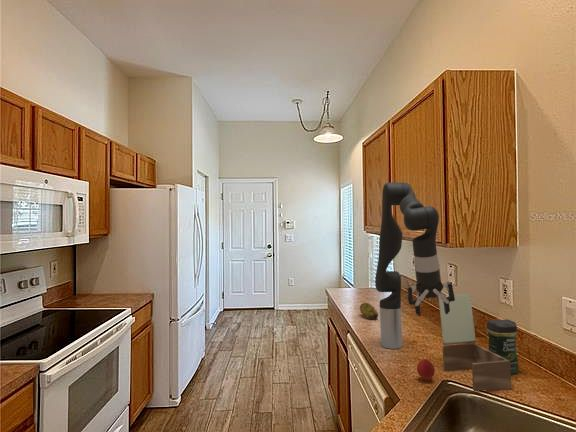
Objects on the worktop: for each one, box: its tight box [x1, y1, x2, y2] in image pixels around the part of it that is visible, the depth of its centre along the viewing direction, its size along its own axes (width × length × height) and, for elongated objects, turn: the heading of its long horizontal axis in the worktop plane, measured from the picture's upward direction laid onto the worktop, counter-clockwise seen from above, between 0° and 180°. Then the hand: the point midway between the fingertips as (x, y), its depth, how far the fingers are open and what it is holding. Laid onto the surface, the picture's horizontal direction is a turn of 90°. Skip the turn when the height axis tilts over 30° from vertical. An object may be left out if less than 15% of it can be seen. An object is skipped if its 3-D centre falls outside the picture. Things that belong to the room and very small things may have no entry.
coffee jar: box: [486, 318, 520, 375], centre depth 132 cm, size 10×8×19 cm
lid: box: [437, 293, 477, 346], centre depth 136 cm, size 18×13×1 cm
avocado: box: [359, 302, 379, 320], centre depth 209 cm, size 8×13×8 cm, turn 5°
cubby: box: [442, 342, 512, 392], centre depth 126 cm, size 18×13×9 cm
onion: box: [416, 356, 436, 381], centre depth 126 cm, size 6×6×8 cm
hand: (432, 314), depth 120 cm, fingers open, 8 cm apart
